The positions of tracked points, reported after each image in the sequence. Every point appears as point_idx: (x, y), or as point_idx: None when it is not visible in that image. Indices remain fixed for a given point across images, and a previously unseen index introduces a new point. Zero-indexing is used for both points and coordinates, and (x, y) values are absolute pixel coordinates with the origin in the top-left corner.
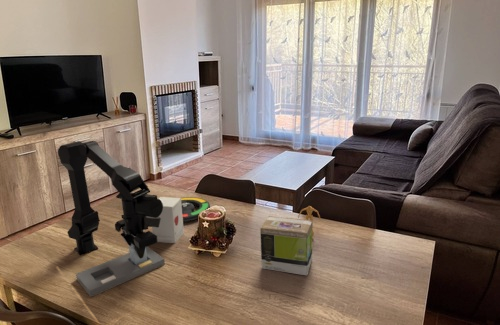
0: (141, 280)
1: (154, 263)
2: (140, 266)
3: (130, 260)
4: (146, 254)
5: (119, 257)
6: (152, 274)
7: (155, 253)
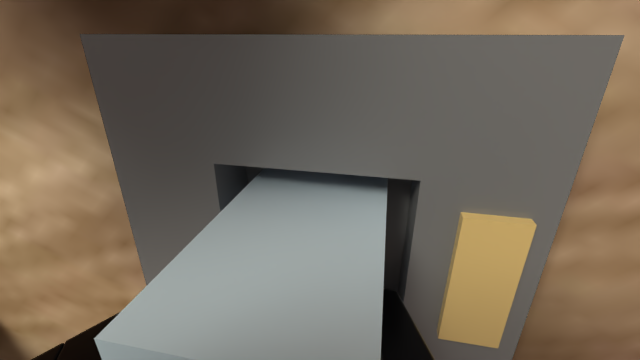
0: (549, 322)
1: (561, 201)
2: (486, 344)
3: None
4: (383, 244)
5: None
6: (567, 225)
7: (344, 53)
